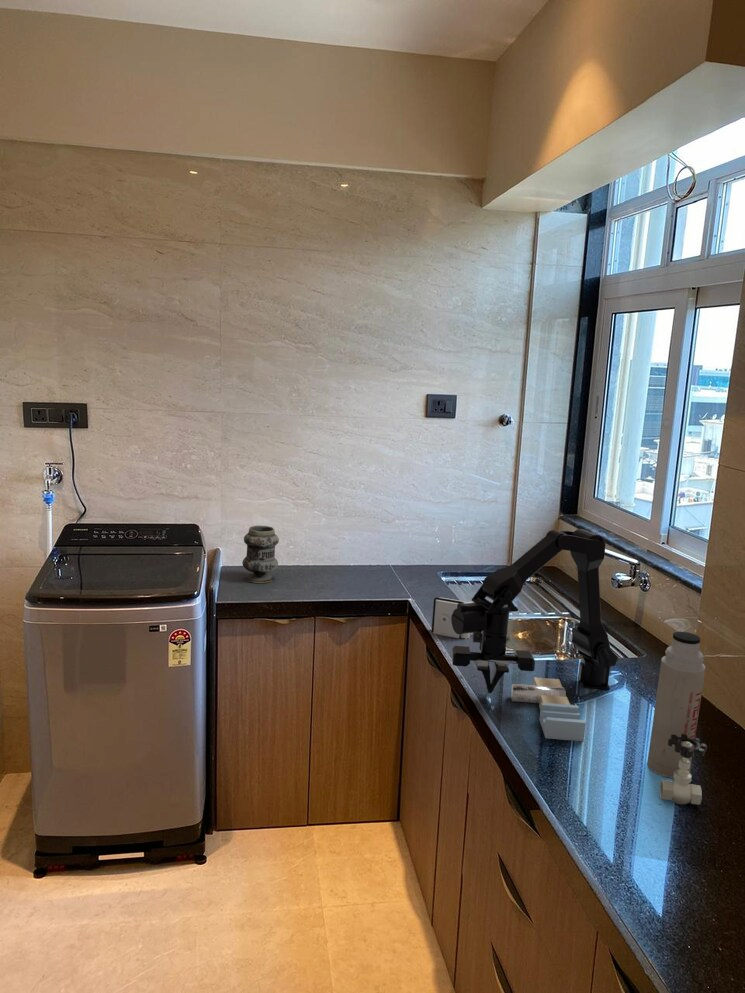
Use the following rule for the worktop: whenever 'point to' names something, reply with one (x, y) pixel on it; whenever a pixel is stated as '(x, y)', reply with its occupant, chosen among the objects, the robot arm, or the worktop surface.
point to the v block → (562, 722)
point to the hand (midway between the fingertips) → (489, 692)
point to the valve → (683, 772)
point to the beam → (546, 697)
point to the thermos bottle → (676, 701)
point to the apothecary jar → (260, 553)
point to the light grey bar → (534, 692)
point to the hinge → (445, 617)
